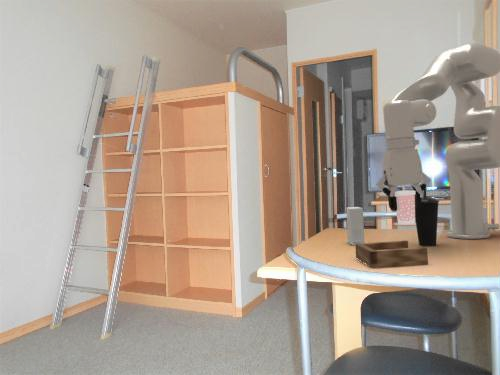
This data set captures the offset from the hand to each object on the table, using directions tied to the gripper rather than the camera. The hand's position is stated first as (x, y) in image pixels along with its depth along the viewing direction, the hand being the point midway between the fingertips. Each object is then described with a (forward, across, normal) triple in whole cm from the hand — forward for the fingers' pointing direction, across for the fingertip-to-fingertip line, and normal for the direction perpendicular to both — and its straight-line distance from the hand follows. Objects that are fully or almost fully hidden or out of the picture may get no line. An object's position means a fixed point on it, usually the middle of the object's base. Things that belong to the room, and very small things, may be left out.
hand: (405, 208), depth 111 cm
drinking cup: (+13, -10, -8) cm, 18 cm away
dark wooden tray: (+12, +9, +10) cm, 18 cm away
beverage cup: (+4, 0, 0) cm, 4 cm away
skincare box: (+13, +9, -18) cm, 24 cm away
